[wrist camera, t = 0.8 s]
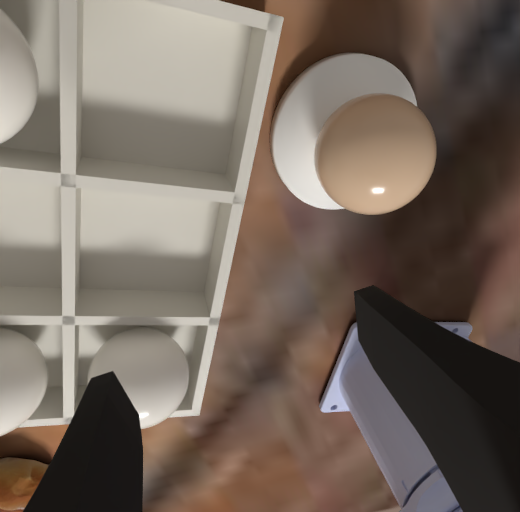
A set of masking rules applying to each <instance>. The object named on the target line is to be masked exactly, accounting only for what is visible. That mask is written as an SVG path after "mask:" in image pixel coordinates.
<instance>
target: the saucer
mask: <svg viewBox="0 0 520 512" xmlns="http://www.w3.org/2000/svg"><path fill="white" fill-rule="evenodd" d="M371 93H386V94H392V95H396V96H399V97H402V98H404V99H406V100H408V101H410V102H411V103H413V104H414V105H415V106H417V102H416V98H415V95H414V92H413V90H412V87H411V85H410V83H409V82H408V80H407V79H406V77H405V76H404V75H403V74H402V72H401V71H400V70H399V69H397V68H396V67H395V66H394V65H392V64H391V63H389V62H387V61H385V60H384V59H381V58H378V57H375V56H371V55H367V54H362V53H341V54H335V55H332V56H329V57H326V58H324V59H322V60H320V61H317V62H316V63H314V64H313V65H311V66H309V67H308V68H307V69H305V70H304V71H303V72H302V73H301V74H299V75H298V76H297V77H296V79H295V80H294V81H293V82H292V83H291V84H290V85H289V87H288V88H287V90H286V91H285V92H284V94H283V96H282V98H281V99H280V101H279V103H278V105H277V108H276V110H275V113H274V116H273V120H272V124H271V130H270V152H271V157H272V161H273V164H274V167H275V169H276V172H277V173H278V175H279V177H280V178H281V180H282V181H283V182H284V184H285V185H286V186H287V187H288V189H289V190H290V191H291V192H292V193H293V194H294V195H295V196H296V197H297V198H299V199H300V200H302V201H303V202H305V203H307V204H309V205H312V206H315V207H318V208H323V209H344V208H343V207H341V206H340V205H338V204H337V203H336V202H334V201H333V200H332V199H331V198H330V197H329V196H328V195H327V193H326V192H325V191H324V189H323V188H322V186H321V184H320V182H319V180H318V177H317V174H316V171H315V165H314V150H315V145H316V141H317V138H318V135H319V132H320V130H321V128H322V126H323V125H324V123H325V122H326V120H327V119H328V118H329V116H330V115H331V114H332V113H333V112H334V111H335V110H336V109H338V108H339V107H340V106H341V105H343V104H344V103H346V102H347V101H349V100H351V99H353V98H356V97H359V96H362V95H366V94H371Z"/></svg>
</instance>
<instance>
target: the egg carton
mask: <svg viewBox="0 0 520 512" xmlns="http://www.w3.org/2000/svg"><path fill="white" fill-rule="evenodd" d="M0 8H1V9H2V10H3V11H4V12H5V13H6V14H7V15H8V16H9V17H10V18H11V19H12V20H13V22H14V23H15V24H16V26H17V27H18V28H19V29H20V31H21V32H22V34H23V36H24V37H25V39H26V40H27V42H28V44H29V46H30V48H31V51H32V53H33V56H34V59H35V62H36V67H37V71H38V79H39V91H38V97H37V102H36V105H35V108H34V111H33V113H32V115H31V116H30V118H29V120H28V122H27V123H26V124H25V125H24V127H23V128H22V129H21V130H20V131H19V132H18V133H17V134H15V135H14V136H13V137H11V138H10V139H8V140H7V141H5V142H3V143H1V144H0V328H7V329H11V330H14V331H17V332H19V333H22V334H24V335H25V336H27V337H28V338H30V339H31V340H32V341H33V342H34V343H35V344H36V345H37V346H38V347H39V348H40V350H41V351H42V353H43V355H44V357H45V360H46V363H47V367H48V384H47V388H46V391H45V395H44V397H43V399H42V401H41V403H40V405H39V406H38V407H37V409H36V410H35V412H34V413H33V414H32V415H31V416H30V417H29V418H28V419H27V420H26V421H25V422H24V423H23V424H21V425H20V426H19V427H32V426H47V425H62V424H70V422H71V420H72V418H73V416H74V414H75V411H76V409H77V407H78V405H79V403H80V401H81V398H82V396H83V394H84V392H85V390H86V387H87V378H88V371H89V367H90V364H91V362H92V360H93V358H94V356H95V354H96V353H97V351H98V350H99V348H100V347H101V346H102V345H103V344H104V343H105V342H106V341H107V340H108V339H110V338H111V337H113V336H114V335H116V334H118V333H120V332H122V331H125V330H127V329H132V328H140V327H145V328H153V329H157V330H159V331H162V332H164V333H166V334H168V335H169V336H170V337H172V338H173V339H174V340H175V341H176V342H177V343H178V344H179V346H180V347H181V348H182V350H183V352H184V354H185V356H186V358H187V362H188V366H189V383H188V387H187V391H186V394H185V396H184V398H183V400H182V402H181V404H180V405H179V406H178V408H177V409H176V410H175V411H174V412H173V413H172V414H171V415H170V416H169V417H182V416H197V415H199V414H200V409H201V405H202V400H203V395H204V391H205V386H206V381H207V376H208V372H209V367H210V362H211V358H212V353H213V348H214V344H215V339H216V334H217V329H218V325H219V320H220V315H221V311H222V306H223V301H224V297H225V292H226V287H227V282H228V278H229V273H230V268H231V264H232V259H233V254H234V250H235V245H236V240H237V235H238V231H239V226H240V221H241V217H242V212H243V207H244V203H245V198H246V193H247V188H248V184H249V179H250V174H251V170H252V165H253V160H254V156H255V151H256V146H257V141H258V137H259V132H260V127H261V123H262V118H263V113H264V108H265V104H266V99H267V94H268V90H269V85H270V80H271V76H272V71H273V66H274V61H275V57H276V52H277V47H278V43H279V38H280V33H281V29H282V24H283V19H284V17H281V16H277V15H273V14H269V13H265V12H261V11H258V10H254V9H250V8H246V7H242V6H238V5H235V4H231V3H227V2H223V1H219V0H0Z"/></svg>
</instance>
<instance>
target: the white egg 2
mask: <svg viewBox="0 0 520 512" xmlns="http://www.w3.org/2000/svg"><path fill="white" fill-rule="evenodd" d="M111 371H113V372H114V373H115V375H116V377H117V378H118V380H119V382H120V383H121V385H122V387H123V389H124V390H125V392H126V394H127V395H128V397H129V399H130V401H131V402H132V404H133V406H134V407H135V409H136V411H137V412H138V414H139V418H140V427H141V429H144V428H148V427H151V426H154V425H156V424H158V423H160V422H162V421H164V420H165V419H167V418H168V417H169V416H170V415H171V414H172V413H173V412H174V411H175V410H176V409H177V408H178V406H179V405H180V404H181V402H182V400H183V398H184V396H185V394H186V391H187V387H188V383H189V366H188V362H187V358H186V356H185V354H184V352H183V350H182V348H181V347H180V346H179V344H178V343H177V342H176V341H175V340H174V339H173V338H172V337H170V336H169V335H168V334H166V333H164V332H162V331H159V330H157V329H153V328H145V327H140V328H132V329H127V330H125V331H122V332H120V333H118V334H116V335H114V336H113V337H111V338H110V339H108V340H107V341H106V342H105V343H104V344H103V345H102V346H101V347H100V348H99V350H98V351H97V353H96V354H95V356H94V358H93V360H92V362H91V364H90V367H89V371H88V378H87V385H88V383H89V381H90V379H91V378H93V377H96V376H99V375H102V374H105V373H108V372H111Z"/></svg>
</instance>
